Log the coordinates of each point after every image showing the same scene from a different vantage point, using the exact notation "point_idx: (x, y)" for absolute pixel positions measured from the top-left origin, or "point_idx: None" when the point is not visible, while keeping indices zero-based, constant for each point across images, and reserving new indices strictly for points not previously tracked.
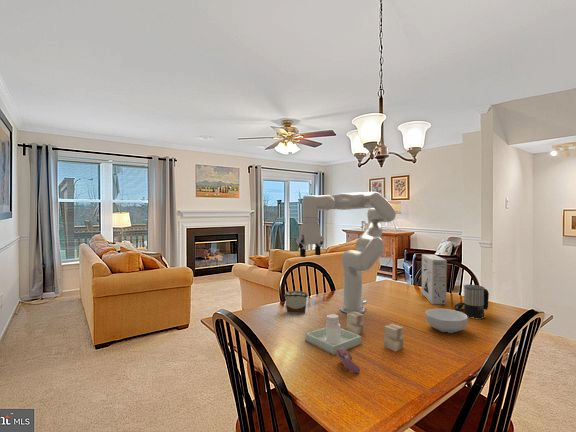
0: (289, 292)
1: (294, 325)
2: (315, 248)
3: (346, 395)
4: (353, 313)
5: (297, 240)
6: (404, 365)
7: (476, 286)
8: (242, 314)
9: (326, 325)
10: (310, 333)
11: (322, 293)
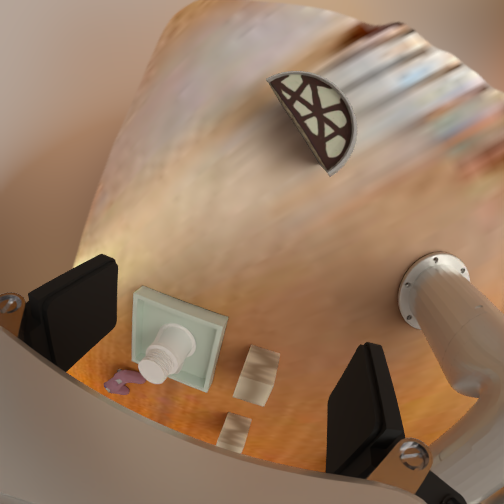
0: (310, 76)
1: (198, 203)
2: (371, 413)
3: (89, 382)
4: (253, 388)
5: None
6: (190, 431)
7: None
8: (177, 20)
9: (148, 348)
10: (144, 300)
11: None
